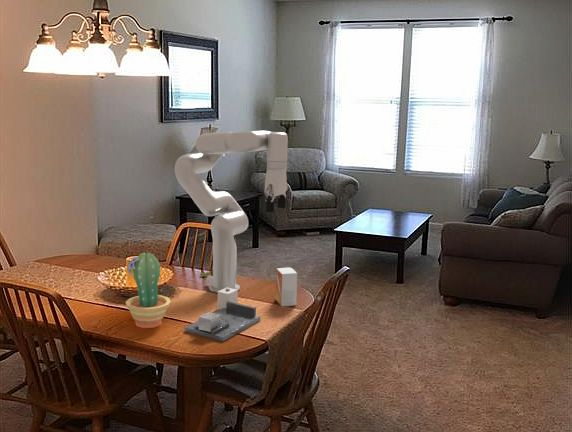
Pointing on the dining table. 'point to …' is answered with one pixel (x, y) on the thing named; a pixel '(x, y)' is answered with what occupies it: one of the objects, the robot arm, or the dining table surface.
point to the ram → (209, 321)
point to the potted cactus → (147, 292)
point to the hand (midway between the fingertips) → (275, 210)
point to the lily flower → (207, 274)
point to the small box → (286, 286)
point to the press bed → (228, 322)
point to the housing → (227, 297)
